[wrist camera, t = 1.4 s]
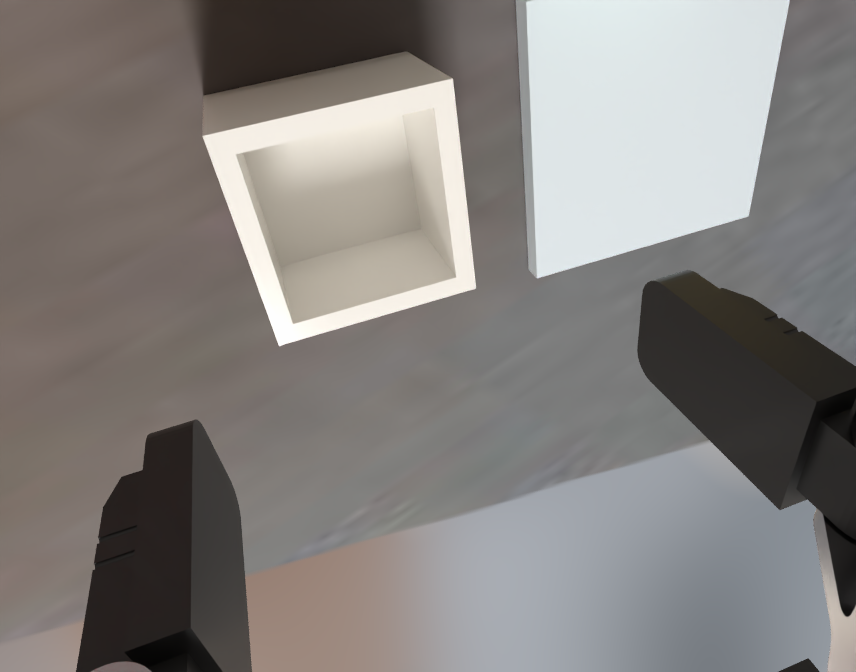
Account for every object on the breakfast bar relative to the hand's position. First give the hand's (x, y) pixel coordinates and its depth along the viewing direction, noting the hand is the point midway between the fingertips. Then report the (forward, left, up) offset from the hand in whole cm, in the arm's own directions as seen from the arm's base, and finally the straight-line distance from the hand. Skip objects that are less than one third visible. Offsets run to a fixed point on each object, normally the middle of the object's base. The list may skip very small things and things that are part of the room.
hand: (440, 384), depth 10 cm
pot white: (0, 0, -12) cm, 12 cm away
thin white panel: (-12, +1, -12) cm, 17 cm away
